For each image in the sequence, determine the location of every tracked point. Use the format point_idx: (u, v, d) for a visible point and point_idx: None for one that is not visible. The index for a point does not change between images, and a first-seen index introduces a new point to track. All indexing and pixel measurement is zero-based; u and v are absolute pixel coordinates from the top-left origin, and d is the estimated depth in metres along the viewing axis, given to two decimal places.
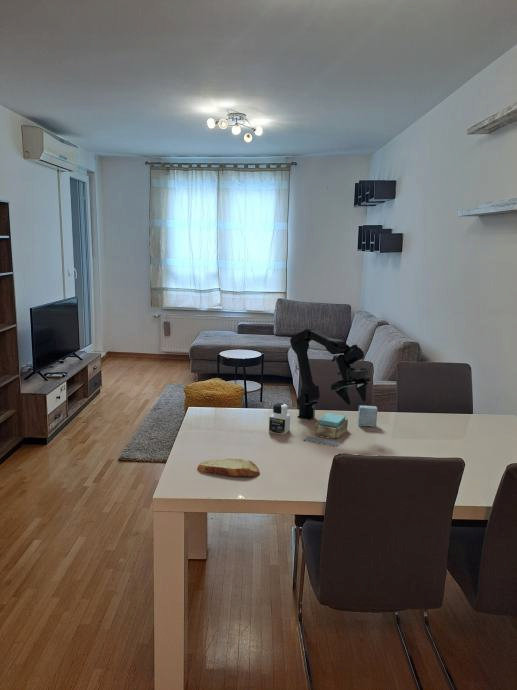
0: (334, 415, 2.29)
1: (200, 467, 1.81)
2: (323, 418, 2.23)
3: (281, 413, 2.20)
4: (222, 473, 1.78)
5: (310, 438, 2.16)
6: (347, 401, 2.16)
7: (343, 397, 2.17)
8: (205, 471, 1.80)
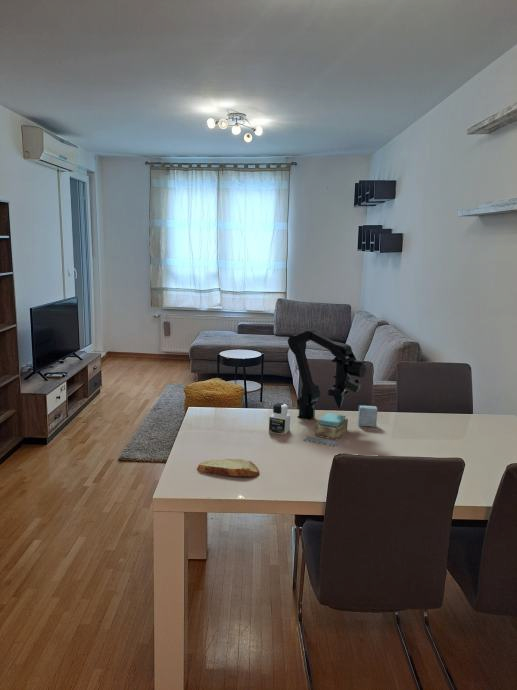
0: (334, 415, 2.29)
1: (200, 467, 1.81)
2: (323, 418, 2.23)
3: (281, 413, 2.20)
4: (221, 473, 1.78)
5: (310, 438, 2.16)
6: (339, 404, 2.32)
7: (337, 400, 2.32)
8: (205, 471, 1.80)
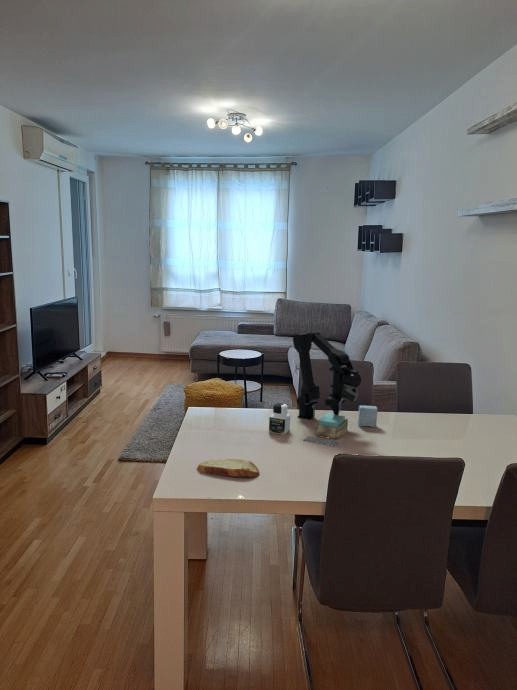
0: (334, 415, 2.28)
1: (199, 467, 1.81)
2: (323, 418, 2.23)
3: (281, 413, 2.20)
4: (221, 473, 1.78)
5: (310, 438, 2.16)
6: (336, 414, 2.29)
7: (334, 409, 2.28)
8: (205, 471, 1.80)
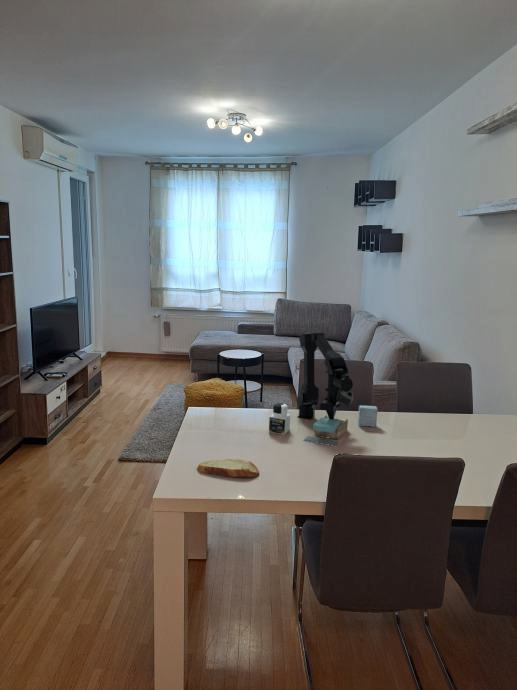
0: (328, 419, 2.22)
1: (199, 467, 1.81)
2: (317, 423, 2.16)
3: (281, 413, 2.20)
4: (221, 473, 1.78)
5: (310, 438, 2.16)
6: (331, 418, 2.23)
7: (329, 413, 2.22)
8: (204, 471, 1.80)
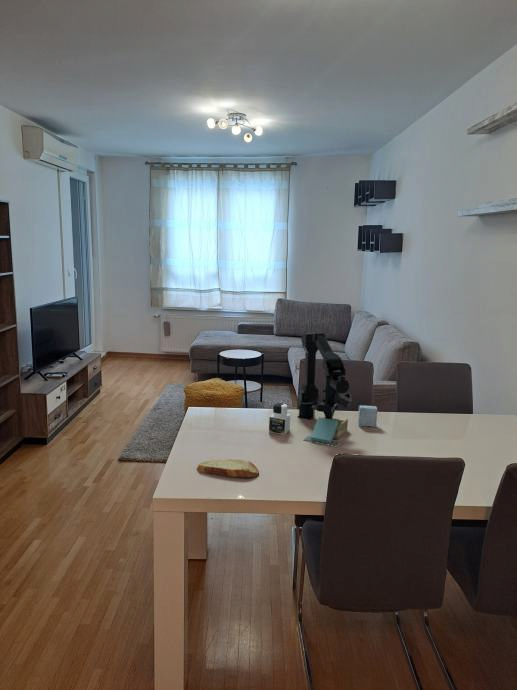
0: (326, 420, 2.18)
1: (199, 467, 1.81)
2: (314, 432, 2.15)
3: (281, 413, 2.20)
4: (221, 474, 1.77)
5: (310, 438, 2.16)
6: None
7: (327, 415, 2.19)
8: (204, 471, 1.79)
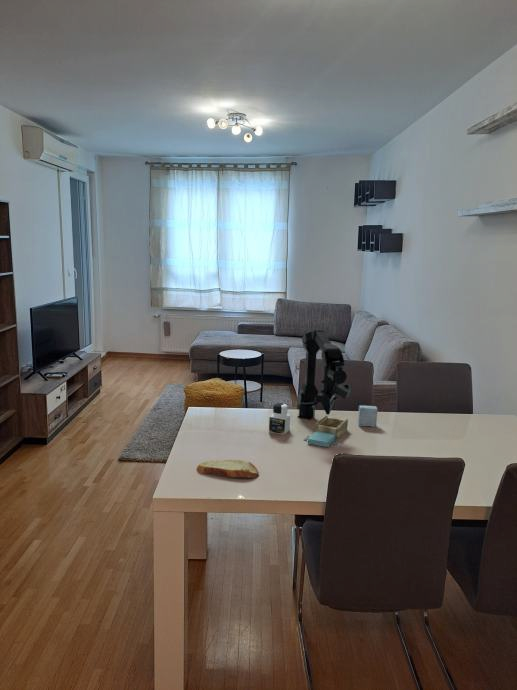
0: (324, 433, 2.18)
1: (199, 468, 1.80)
2: (312, 437, 2.12)
3: (281, 413, 2.20)
4: (220, 474, 1.77)
5: None
6: (327, 411, 2.17)
7: (325, 406, 2.16)
8: (204, 472, 1.79)
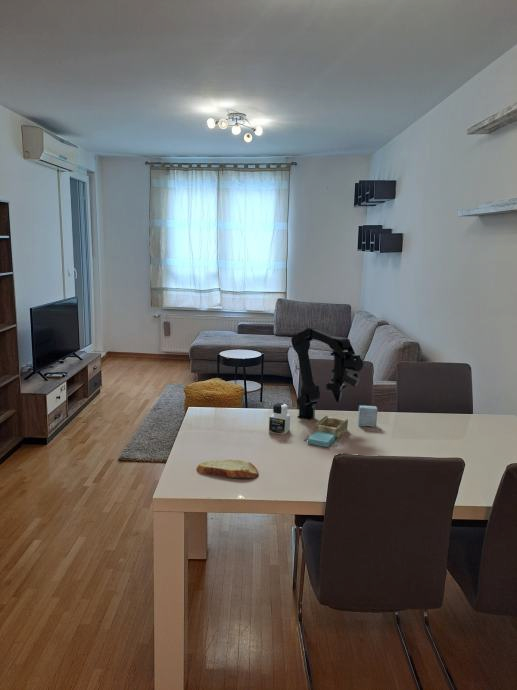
0: (324, 433, 2.18)
1: (199, 468, 1.80)
2: (312, 437, 2.12)
3: (281, 413, 2.20)
4: (220, 474, 1.77)
5: None
6: (337, 399, 2.28)
7: (335, 394, 2.28)
8: (204, 472, 1.79)
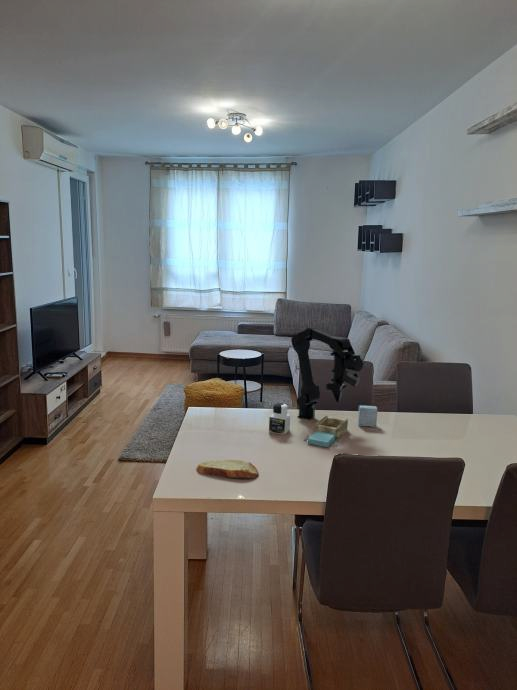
0: (324, 433, 2.18)
1: (199, 468, 1.80)
2: (312, 437, 2.12)
3: (281, 413, 2.20)
4: (220, 474, 1.77)
5: None
6: (337, 399, 2.28)
7: (335, 394, 2.28)
8: (204, 472, 1.79)
